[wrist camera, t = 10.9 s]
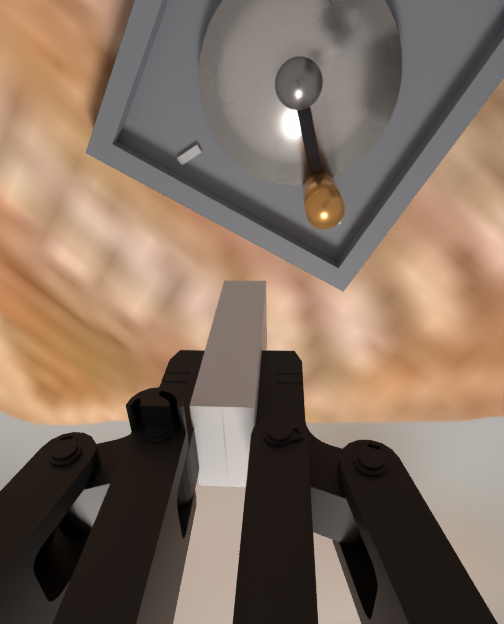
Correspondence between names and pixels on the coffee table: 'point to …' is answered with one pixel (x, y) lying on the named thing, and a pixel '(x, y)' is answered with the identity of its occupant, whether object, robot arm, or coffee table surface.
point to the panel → (289, 198)
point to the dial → (300, 90)
